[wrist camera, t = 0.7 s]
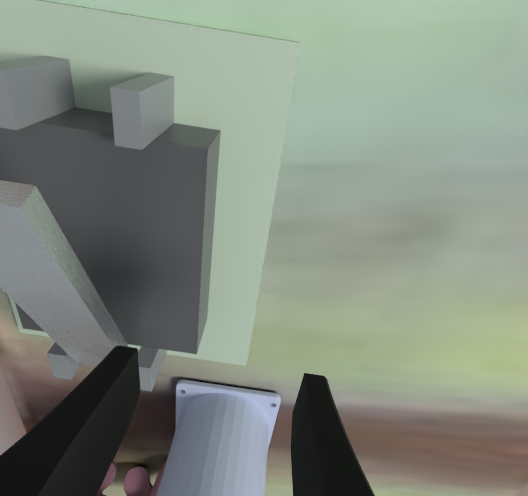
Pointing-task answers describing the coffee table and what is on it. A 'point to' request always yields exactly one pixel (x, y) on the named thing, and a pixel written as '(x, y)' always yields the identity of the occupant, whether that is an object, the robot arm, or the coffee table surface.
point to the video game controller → (134, 481)
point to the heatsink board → (203, 98)
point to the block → (51, 277)
